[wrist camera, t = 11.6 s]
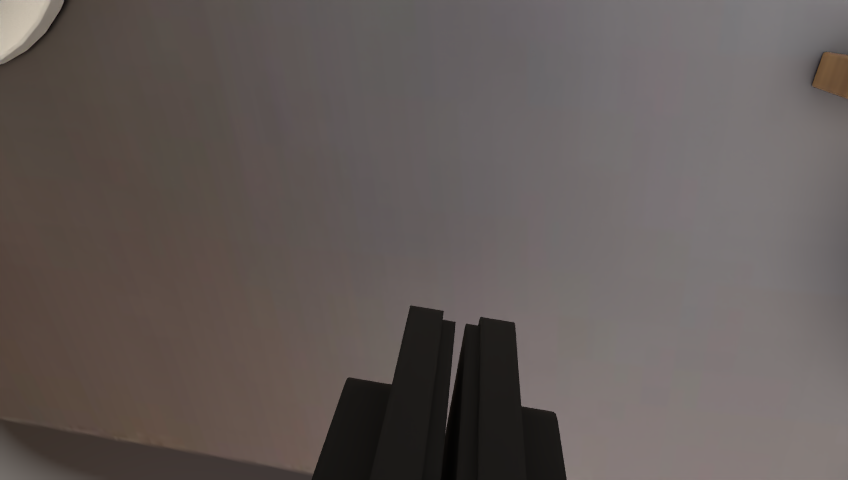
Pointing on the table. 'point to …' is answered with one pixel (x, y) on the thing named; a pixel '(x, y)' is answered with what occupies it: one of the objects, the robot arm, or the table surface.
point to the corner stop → (833, 74)
